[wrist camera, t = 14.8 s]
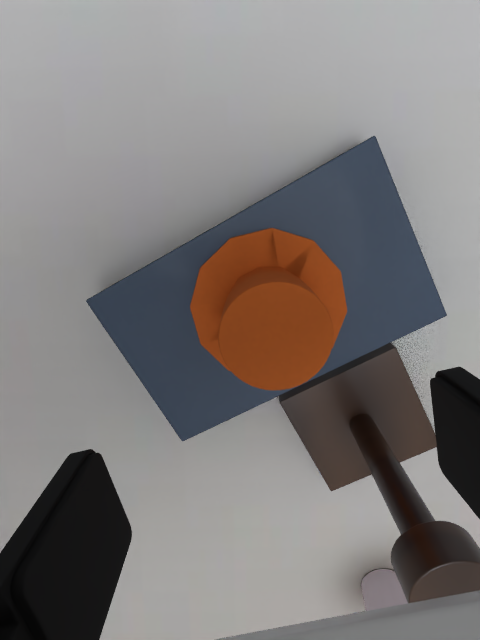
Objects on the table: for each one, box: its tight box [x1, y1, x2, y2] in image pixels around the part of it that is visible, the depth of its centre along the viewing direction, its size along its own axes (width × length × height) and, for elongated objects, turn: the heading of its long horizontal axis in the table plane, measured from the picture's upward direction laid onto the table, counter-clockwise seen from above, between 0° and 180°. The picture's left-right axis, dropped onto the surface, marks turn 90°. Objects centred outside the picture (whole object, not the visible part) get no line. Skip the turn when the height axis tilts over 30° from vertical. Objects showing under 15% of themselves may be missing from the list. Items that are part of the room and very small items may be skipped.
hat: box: [190, 228, 347, 390], centre depth 20 cm, size 10×10×6 cm
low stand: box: [86, 136, 447, 441], centre depth 24 cm, size 20×12×2 cm, turn 119°
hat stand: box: [279, 343, 480, 603], centre depth 21 cm, size 9×9×14 cm
